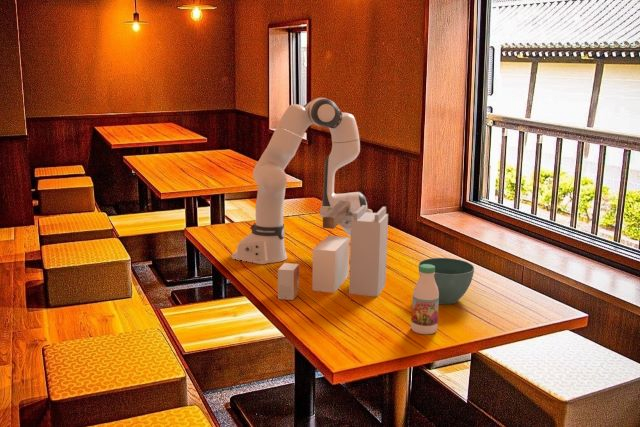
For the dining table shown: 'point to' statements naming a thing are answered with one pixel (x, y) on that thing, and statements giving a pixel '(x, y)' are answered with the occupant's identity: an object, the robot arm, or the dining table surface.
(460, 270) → the green bowl
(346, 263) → the block
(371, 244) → the stand
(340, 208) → the rod
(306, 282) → the dining table surface
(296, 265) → the small box
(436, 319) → the milk bottle
